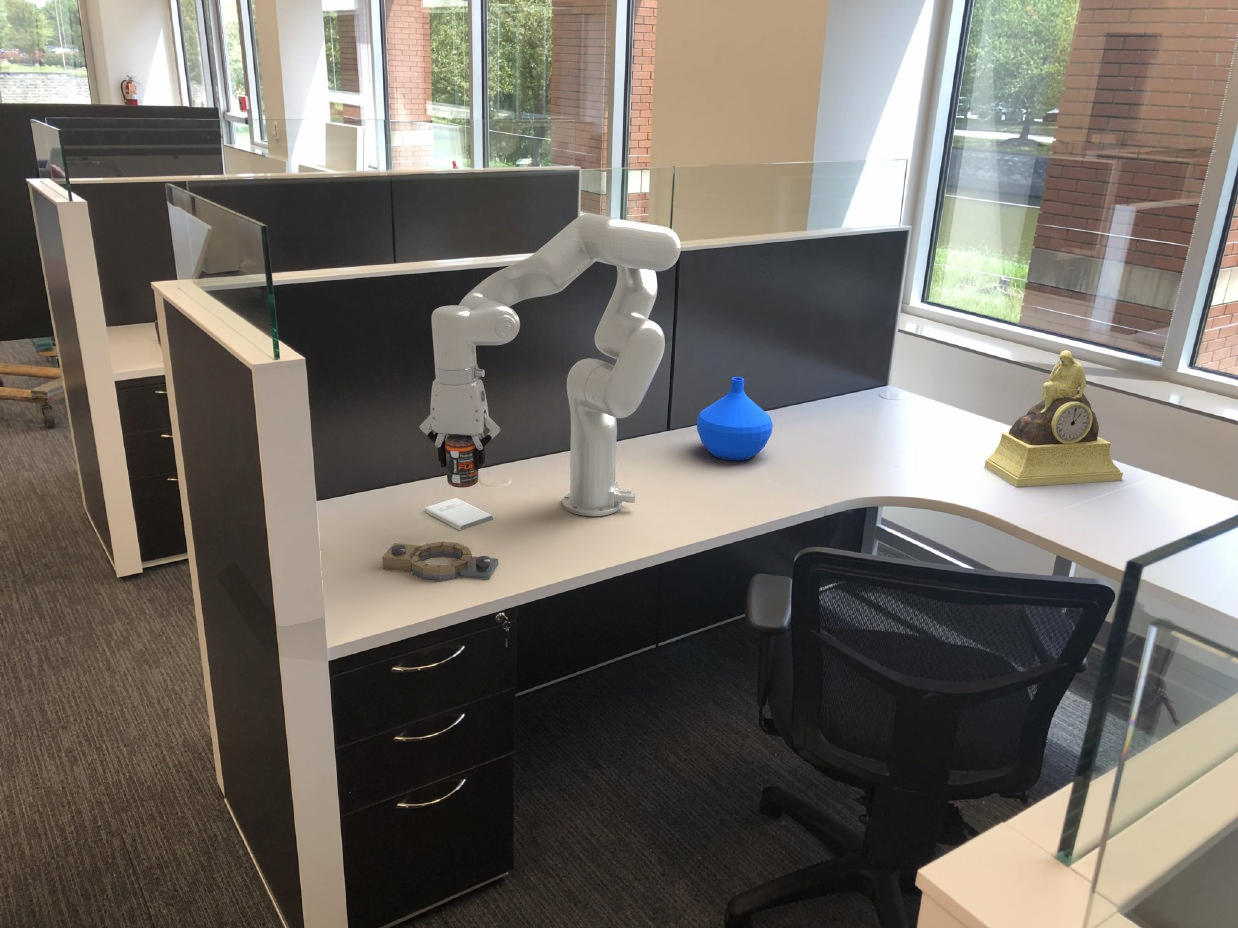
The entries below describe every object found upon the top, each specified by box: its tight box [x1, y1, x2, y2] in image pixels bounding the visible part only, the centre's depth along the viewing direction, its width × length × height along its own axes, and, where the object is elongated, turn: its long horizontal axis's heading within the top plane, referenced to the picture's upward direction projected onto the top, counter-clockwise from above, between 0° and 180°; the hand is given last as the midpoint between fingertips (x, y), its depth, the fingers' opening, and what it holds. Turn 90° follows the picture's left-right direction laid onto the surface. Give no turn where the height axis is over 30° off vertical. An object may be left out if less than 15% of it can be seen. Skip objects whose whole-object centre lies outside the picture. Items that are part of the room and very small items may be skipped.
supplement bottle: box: [445, 434, 480, 489], centre depth 183 cm, size 6×6×11 cm
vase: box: [696, 376, 774, 461], centre depth 235 cm, size 18×18×19 cm
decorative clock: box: [984, 350, 1124, 488], centre depth 227 cm, size 28×13×30 cm, turn 103°
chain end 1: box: [381, 541, 473, 575], centre depth 177 cm, size 16×11×3 cm
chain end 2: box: [410, 551, 499, 582], centre depth 177 cm, size 16×11×2 cm
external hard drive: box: [424, 497, 494, 531], centre depth 199 cm, size 2×8×12 cm
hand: (462, 465), depth 184 cm, fingers closed on supplement bottle, 6 cm apart
